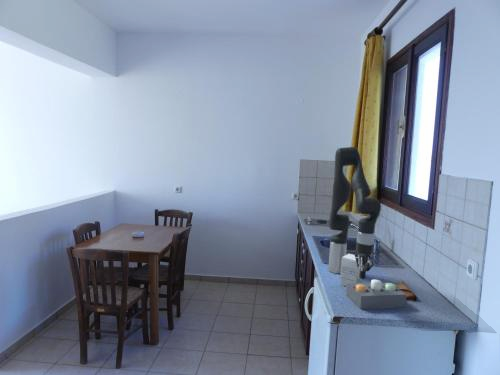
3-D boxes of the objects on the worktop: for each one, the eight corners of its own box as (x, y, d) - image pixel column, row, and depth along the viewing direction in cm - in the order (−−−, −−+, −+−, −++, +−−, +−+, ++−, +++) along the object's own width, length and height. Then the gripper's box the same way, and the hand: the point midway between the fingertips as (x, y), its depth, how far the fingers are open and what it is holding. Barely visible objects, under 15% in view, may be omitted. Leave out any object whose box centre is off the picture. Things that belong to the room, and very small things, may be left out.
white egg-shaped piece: (368, 290, 164) (369, 279, 163) (377, 290, 165) (378, 279, 164) (373, 294, 159) (374, 283, 159) (382, 294, 160) (383, 283, 159)
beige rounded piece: (353, 295, 162) (354, 283, 162) (362, 294, 163) (363, 283, 163) (358, 299, 158) (359, 287, 157) (367, 299, 159) (368, 287, 158)
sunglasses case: (387, 285, 183) (394, 275, 182) (398, 292, 183) (405, 282, 182) (398, 299, 165) (407, 288, 164) (411, 308, 165) (419, 297, 164)
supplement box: (346, 280, 188) (348, 253, 186) (362, 284, 182) (364, 257, 180) (339, 284, 181) (341, 256, 179) (355, 289, 175) (358, 260, 173)
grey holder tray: (346, 295, 167) (346, 283, 166) (387, 294, 171) (388, 282, 170) (360, 309, 153) (361, 296, 153) (405, 307, 158) (406, 294, 157)
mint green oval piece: (382, 294, 165) (383, 283, 165) (391, 293, 166) (392, 282, 165) (388, 298, 161) (389, 286, 160) (397, 298, 162) (398, 286, 161)
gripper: (350, 237, 163) (348, 273, 166) (365, 246, 151) (361, 284, 153) (365, 237, 165) (362, 272, 167) (380, 245, 152) (377, 283, 154)
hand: (362, 278), depth 160 cm, fingers closed
